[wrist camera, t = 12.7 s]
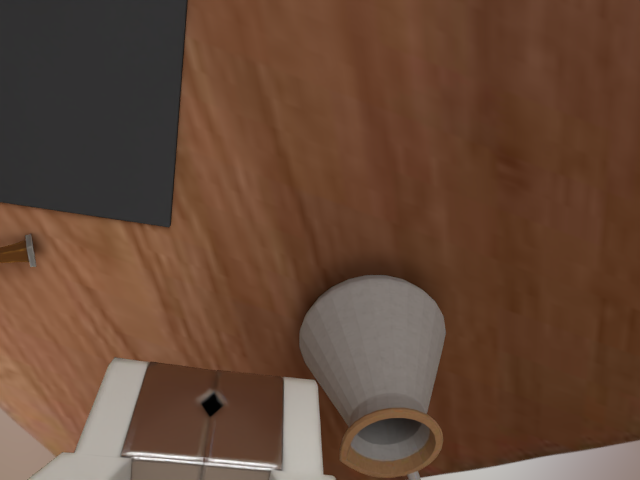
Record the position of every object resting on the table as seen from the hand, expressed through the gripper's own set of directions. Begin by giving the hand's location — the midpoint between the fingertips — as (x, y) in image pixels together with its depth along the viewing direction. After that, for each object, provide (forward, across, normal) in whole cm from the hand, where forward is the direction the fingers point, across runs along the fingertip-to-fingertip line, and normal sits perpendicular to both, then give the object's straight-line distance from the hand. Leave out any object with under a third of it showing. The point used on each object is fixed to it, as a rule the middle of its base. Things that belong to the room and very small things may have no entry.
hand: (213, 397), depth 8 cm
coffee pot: (+29, -14, +25) cm, 41 cm away
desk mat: (+29, +16, +6) cm, 34 cm away
